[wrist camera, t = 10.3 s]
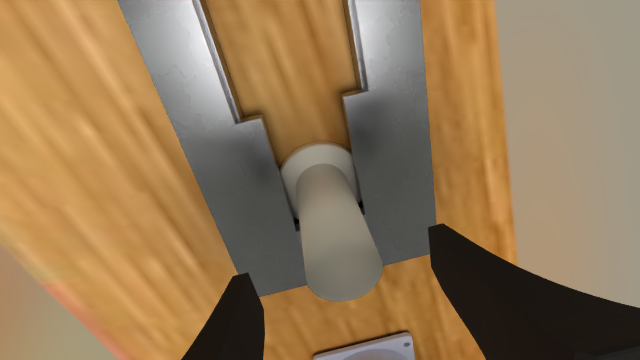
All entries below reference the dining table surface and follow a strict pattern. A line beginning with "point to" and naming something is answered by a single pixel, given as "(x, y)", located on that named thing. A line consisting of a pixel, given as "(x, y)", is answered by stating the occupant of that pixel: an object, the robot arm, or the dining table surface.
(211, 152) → the keyhole plate
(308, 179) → the peg
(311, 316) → the dining table surface
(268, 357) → the dining table surface
